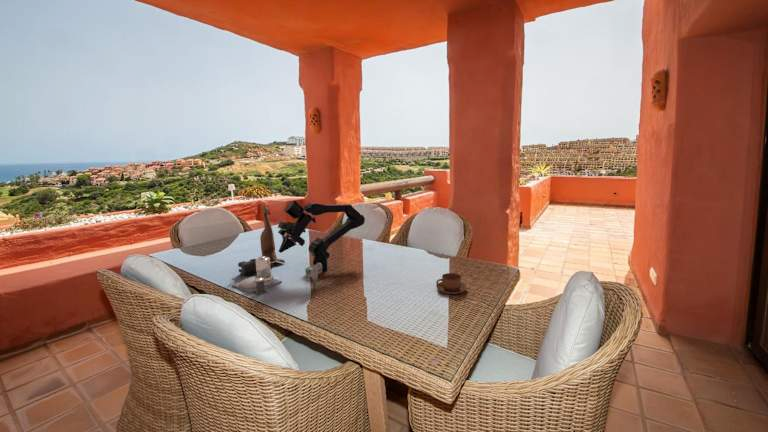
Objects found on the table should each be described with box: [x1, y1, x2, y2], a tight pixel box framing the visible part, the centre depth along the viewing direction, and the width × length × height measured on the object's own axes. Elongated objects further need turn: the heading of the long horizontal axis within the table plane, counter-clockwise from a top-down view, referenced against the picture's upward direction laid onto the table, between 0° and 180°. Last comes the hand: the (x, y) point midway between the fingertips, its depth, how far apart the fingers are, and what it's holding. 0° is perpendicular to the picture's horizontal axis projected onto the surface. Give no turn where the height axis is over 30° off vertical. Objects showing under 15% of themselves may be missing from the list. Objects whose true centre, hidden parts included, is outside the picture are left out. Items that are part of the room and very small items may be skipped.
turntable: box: [231, 275, 283, 294], centre depth 152 cm, size 15×15×2 cm
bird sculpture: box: [259, 203, 286, 264], centre depth 178 cm, size 11×12×32 cm
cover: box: [255, 255, 275, 282], centre depth 153 cm, size 8×8×10 cm
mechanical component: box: [304, 263, 323, 290], centre depth 144 cm, size 3×10×10 cm, turn 161°
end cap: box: [237, 258, 257, 278], centre depth 166 cm, size 10×7×7 cm
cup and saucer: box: [435, 272, 467, 295], centre depth 139 cm, size 12×12×6 cm
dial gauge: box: [254, 277, 268, 296], centre depth 142 cm, size 4×4×6 cm
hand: (279, 252), depth 157 cm, fingers closed
